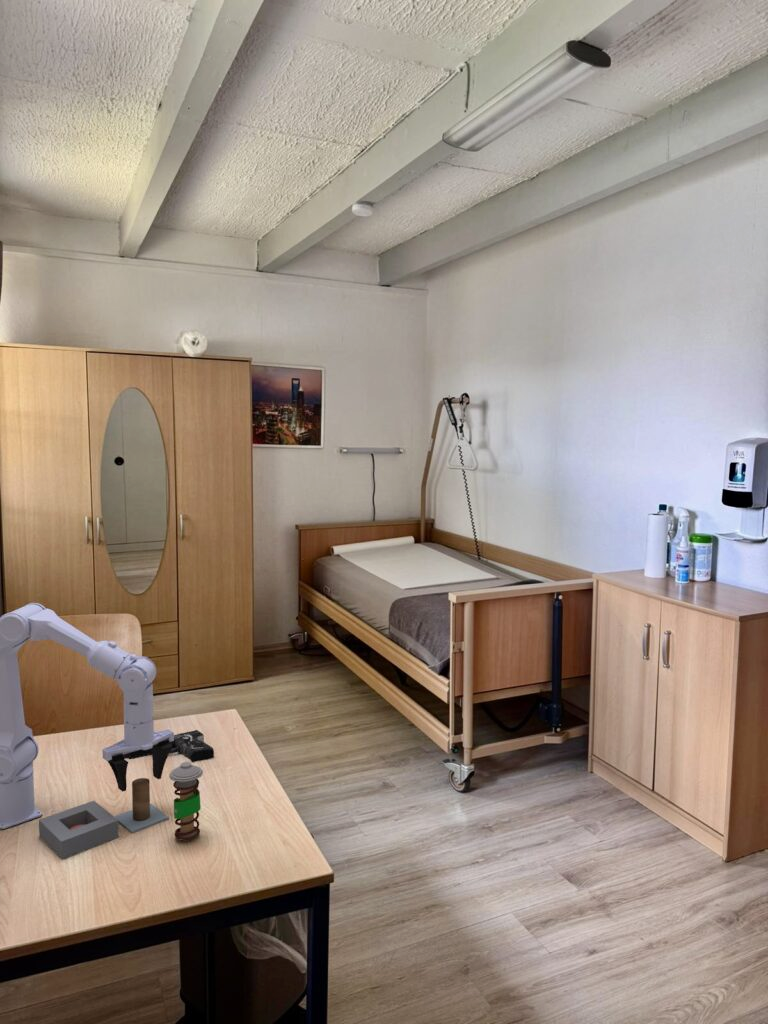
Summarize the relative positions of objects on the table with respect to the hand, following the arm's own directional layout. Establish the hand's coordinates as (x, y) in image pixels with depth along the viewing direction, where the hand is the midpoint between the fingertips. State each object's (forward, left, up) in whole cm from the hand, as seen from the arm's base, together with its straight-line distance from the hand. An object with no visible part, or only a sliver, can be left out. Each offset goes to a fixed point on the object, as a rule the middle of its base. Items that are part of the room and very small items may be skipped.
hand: (140, 783), depth 150 cm
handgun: (-24, +19, -8) cm, 32 cm away
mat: (0, 0, -8) cm, 8 cm away
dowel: (0, 0, -7) cm, 7 cm away
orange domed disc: (-2, -12, -7) cm, 14 cm away
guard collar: (-2, -12, -8) cm, 14 cm away
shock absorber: (+13, +3, -8) cm, 16 cm away
